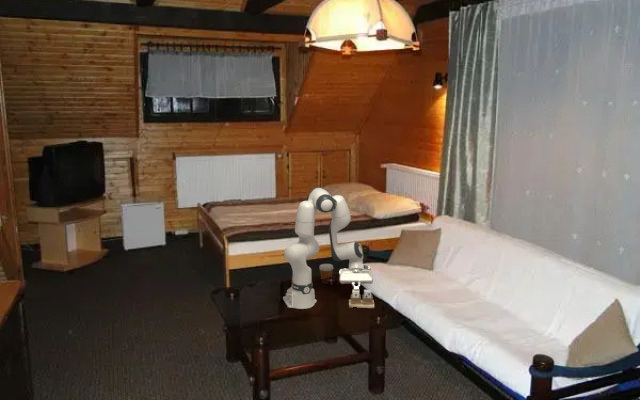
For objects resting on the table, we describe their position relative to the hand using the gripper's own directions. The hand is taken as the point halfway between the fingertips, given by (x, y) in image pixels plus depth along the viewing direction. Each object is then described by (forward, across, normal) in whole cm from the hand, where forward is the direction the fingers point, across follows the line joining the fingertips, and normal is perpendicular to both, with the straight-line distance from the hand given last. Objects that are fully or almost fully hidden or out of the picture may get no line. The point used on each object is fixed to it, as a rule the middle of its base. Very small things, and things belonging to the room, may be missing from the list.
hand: (356, 289), depth 317 cm
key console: (+7, +3, +7) cm, 10 cm away
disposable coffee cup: (-19, -19, +32) cm, 42 cm away
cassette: (-13, -36, +26) cm, 46 cm away
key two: (+6, +7, +6) cm, 11 cm away
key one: (+6, 0, +6) cm, 8 cm away
